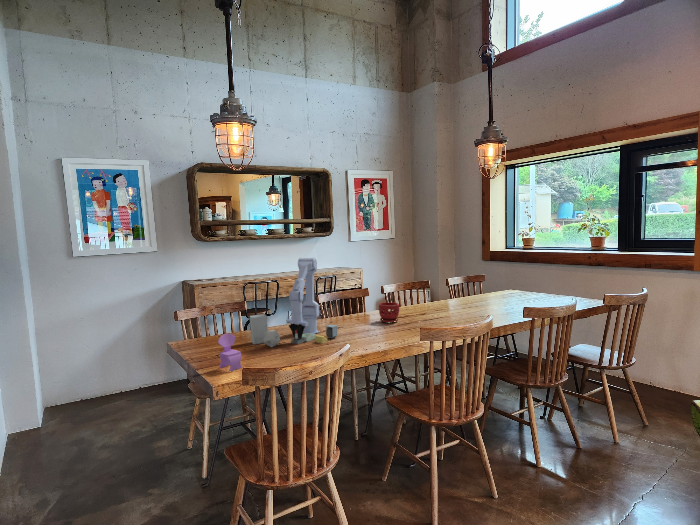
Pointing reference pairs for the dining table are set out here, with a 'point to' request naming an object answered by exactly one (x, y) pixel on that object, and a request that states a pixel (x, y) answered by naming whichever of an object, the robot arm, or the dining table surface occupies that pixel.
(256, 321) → the skincare box
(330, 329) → the castor
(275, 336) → the die
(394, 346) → the dining table surface
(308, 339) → the tray
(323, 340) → the block
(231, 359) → the toy chair
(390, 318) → the plant pot
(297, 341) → the pin socket
